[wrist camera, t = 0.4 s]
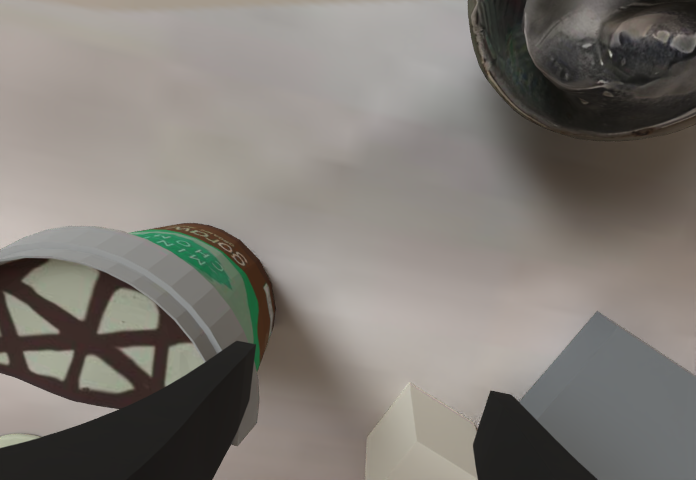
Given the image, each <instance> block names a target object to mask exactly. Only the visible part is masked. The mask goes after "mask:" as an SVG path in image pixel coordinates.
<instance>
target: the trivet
mask: <svg viewBox="0 0 696 480" xmlns="http://www.w3.org/2000/svg"><path fill="white" fill-rule="evenodd" d="M519 403H520V404H521V405H522V406H523V407H524V408H525V409H526V410H527V411H528V412H529V413H530V414H531V415H532V416H533V417H534V418H535V419H536V420H537V421H538V422H539V423H540V424H541V425H542V426H543V427H544V428H545V429H546V430H547V431H548V432H549V433H550V434H551V435H552V436H553V437H554V438H555V439H556V440H557V441H558V442H559V443H560V444H561V445H562V446H563V447H564V448H565V449H566V450H567V451H568V452H569V453H570V454H571V455H572V456H573V457H574V458H575V459H576V460H577V461H578V462H579V463H580V464H581V465H583V466H584V467H585V468H586V469H587V470H588V471H589V472H590V473H591V474H592V475H593V476H595V477H596V478H597V479H598V480H696V376H695V375H694V374H692V373H691V372H689V371H688V370H686V369H685V368H683V367H682V366H680V365H679V364H677V363H676V362H674V361H673V360H671V359H669V358H668V357H666V356H665V355H663V354H662V353H660V352H659V351H657V350H656V349H654V348H653V347H651V346H650V345H648V344H647V343H645V342H644V341H642V340H641V339H639V338H638V337H636V336H634V335H633V334H631V333H630V332H628V331H627V330H625V329H624V328H622V327H621V326H619V325H618V324H616V323H615V322H613V321H612V320H610V319H609V318H607V317H606V316H604V315H603V314H601V313H599V312H598V311H597V312H596V313H595V315H594V316H593V317H592V318H591V319H590V320H589V322H588V323H587V324H586V325H585V326H584V327H583V328H582V330H581V331H580V332H579V333H578V334H577V335H576V337H575V338H574V339H573V340H572V341H571V342H570V344H569V345H568V346H567V347H566V348H565V349H564V351H563V352H562V353H561V354H560V355H559V356H558V358H557V359H556V360H555V361H554V362H553V363H552V365H551V366H550V367H549V368H548V369H547V370H546V372H545V373H544V374H543V375H542V376H541V377H540V379H539V380H538V381H537V382H536V383H535V384H534V385H533V387H532V388H531V389H530V390H529V391H528V392H527V394H526V395H525V396H524V397H523V398H522V399H521V401H520V402H519Z"/></svg>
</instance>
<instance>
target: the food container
mask: <svg viewBox="0 0 696 480" xmlns="http://www.w3.org/2000/svg"><path fill="white" fill-rule="evenodd" d="M274 317H275V303H274V297H273V291H272V285H271V282H270V280H269V278H268V276H267V274H266V272H265V270H264V268H263V266H262V264H261V262H260V260H259V259H258V258H257V257H256V256H255V255H254V254H253V253H252V252H251V251H250V250H249V249H248V248H247V247H246V246H245V245H244V244H243V243H242V242H241V240H239V239H237V238H236V237H234V236H232V235H230V234H229V233H227V232H225V231H223V230H221V229H218V228H215V227H212V226H209V225H203V224H198V223H183V224H177V225H171V226H165V227H160V228H154V229H149V230H143V231H137V232H132V233H126V232H123V231H119V230H114V229H108V228H102V227H96V226H67V227H61V228H55V229H49V230H44V231H41V232H38V233H36V234H33V235H30V236H27V237H24V238H22V239H20V240H18V241H16V242H14V243H12V244H10V245H8V246H6V247H4V248H2V249H0V373H2V374H6V375H9V376H12V377H15V378H18V379H20V380H23V381H25V382H27V383H30V384H32V385H34V386H37V387H39V388H41V389H44V390H46V391H48V392H51V393H53V394H56V395H58V396H61V397H64V398H66V399H69V400H72V401H76V402H81V403H86V404H91V405H96V406H102V407H109V408H116V409H122V408H124V407H126V406H128V405H130V404H133V403H135V402H137V401H139V400H141V399H143V398H145V397H147V396H149V395H151V394H153V393H155V392H157V391H159V390H161V389H163V388H164V387H166V386H168V385H169V384H171V383H173V382H174V381H176V380H178V379H180V378H181V377H183V376H185V375H186V374H188V373H189V372H191V371H192V370H194V369H195V368H197V367H198V366H200V365H201V364H203V363H205V362H206V361H207V360H209V359H210V358H212V357H213V356H215V355H216V354H218V353H219V352H220V351H222V350H223V349H225V348H226V347H228V346H229V345H231V344H232V343H234V342H235V341H241V342H246V343H252V344H256V350H255V358H254V366H253V375H252V383H251V392H250V400H249V403H248V405H247V408H246V411H245V413H244V416H243V419H242V421H241V424H240V426H239V429H238V431H237V433H236V435H235V437H234V439H233V441H232V443H231V444H232V445H234V446H238V445H239V444H240V442H241V441H242V440H243V439H244V438H245V437H246V435H247V434H248V433H249V432H250V431H251V429H252V428H253V427H254V426H255V425H256V423H257V417H258V408H259V386H258V375H257V371H258V368H259V365H260V362H261V360H262V357H263V354H264V351H265V349H266V346H267V343H268V340H269V338H270V335H271V332H272V329H273V325H274ZM230 446H231V445H230Z"/></svg>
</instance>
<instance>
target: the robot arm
mask: <svg viewBox="0 0 696 480" xmlns="http://www.w3.org/2000/svg"><path fill="white" fill-rule="evenodd" d="M255 350H256V344H252V343H246V342H241V341H235V342H234V343H232V344H231V345H229V346H228V347H226V348H225V349H223V350H222V351H220V352H219V353H218V354H216V355H215V356H213V357H212V358H210V359H209V360H207V361H206V362H205V363H203V364H201V365H200V366H198V367H197V368H195V369H194V370H192V371H191V372H189V373H188V374H186V375H185V376H183V377H181V378H180V379H178V380H176V381H174V382H173V383H171V384H169V385H168V386H166V387H164V388H163V389H161V390H159V391H157V392H155V393H153V394H151V395H149V396H147V397H145V398H143V399H141V400H139V401H137V402H135V403H133V404H130V405H128V406H126V407H124V408H122V409H119V410H117V411H114V412H112V413H109V414H107V415H104V416H102V417H99V418H97V419H94V420H92V421H89V422H86V423H84V424H81V425H78V426H75V427H72V428H69V429H66V430H63V431H60V432H57V433H54V434H50V435H47V436H44V437H41V438H37V439H33V440H30V441H26V442H22V443H18V444H14V445H10V446H6V447H2V448H0V480H212V479H213V477H214V475H215V473H216V472H217V470H218V468H219V466H220V464H221V462H222V460H223V458H224V456H225V454H226V453H227V451H228V449H229V447H230V445H231V443H232V441H233V439H234V437H235V435H236V433H237V431H238V429H239V426H240V424H241V421H242V419H243V416H244V413H245V411H246V408H247V405H248V403H249V400H250V392H251V383H252V375H253V366H254V358H255ZM473 451H474V459H475V466H476V472H477V478H478V480H598V479H597V478H596V477H595V476H593V475H592V474H591V473H590V472H589V471H588V470H587V469H586V468H585V467H584V466H583V465H581V464H580V463H579V462H578V461H577V460H576V459H575V458H574V457H573V456H572V455H571V454H570V453H569V452H568V451H567V450H566V449H565V448H564V447H563V446H562V445H561V444H560V443H559V442H558V441H557V440H556V439H555V438H554V437H553V436H552V435H551V434H550V433H549V432H548V431H547V430H546V429H545V428H544V427H543V426H542V425H541V424H540V423H539V422H538V421H537V420H536V419H535V418H534V417H533V416H532V415H531V414H530V413H529V412H528V411H527V410H526V409H525V408H524V407H523V406H522V405H521V404H520V403H519V402H518V401H517V400H516V399H515V398H514V397H513V396H512V395H510V394H505V393H500V392H495V391H490V394H489V397H488V400H487V403H486V406H485V409H484V412H483V415H482V418H481V421H480V424H479V427H478V430H477V433H476V436H475V439H474V442H473Z"/></svg>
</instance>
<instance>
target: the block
mask: <svg viewBox="0 0 696 480" xmlns="http://www.w3.org/2000/svg"><path fill="white" fill-rule="evenodd" d="M476 433H477V431H476V428H475V425H474V423H473V422H472V421H470V420H469V419H467V418H465V417H464V416H462V415H461V414H459V413H457V412H456V411H454V410H453V409H451V408H450V407H448V406H446V405H445V404H443V403H442V402H440V401H438V400H437V399H435V398H434V397H432V396H431V395H429V394H427V393H426V392H424V391H423V390H421V389H419V388H418V387H416V386H415V385H413V384H412V383H410V382H409V383H408V385H407V386H406V387H405V389H404V390H403V391H402V392H401V394H400V395H399V396H398V398H397V399H396V400H395V402H394V403H393V404H392V405H391V407H390V408H389V409H388V411H387V412H386V413H385V415H384V416H383V417H382V418H381V420H380V421H379V422H378V424H377V425H376V426H375V428H374V429H373V430H372V431H371V433H370V434H369V435H368V437H367V445H366V466H365V480H478V478H477V472H476V466H475V459H474V451H473V442H474V439H475V436H476Z"/></svg>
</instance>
